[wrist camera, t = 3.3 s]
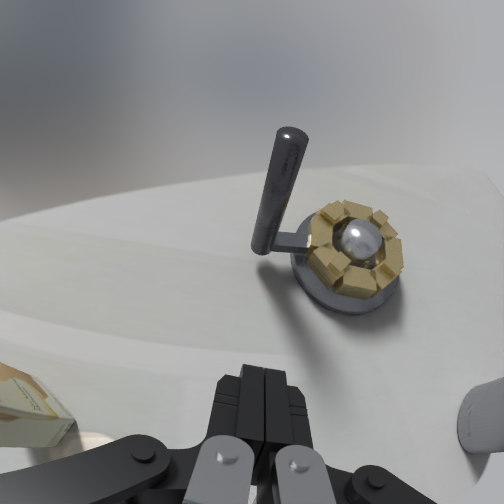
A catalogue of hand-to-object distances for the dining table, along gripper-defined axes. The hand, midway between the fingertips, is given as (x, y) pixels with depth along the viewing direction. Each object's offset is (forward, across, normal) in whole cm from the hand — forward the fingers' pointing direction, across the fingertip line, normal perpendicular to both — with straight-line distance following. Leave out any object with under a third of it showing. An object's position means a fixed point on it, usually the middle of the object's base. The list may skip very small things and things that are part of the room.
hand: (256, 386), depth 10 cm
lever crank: (+23, -7, -1) cm, 24 cm away
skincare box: (+8, +17, +17) cm, 25 cm away
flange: (+25, -10, 0) cm, 27 cm away
